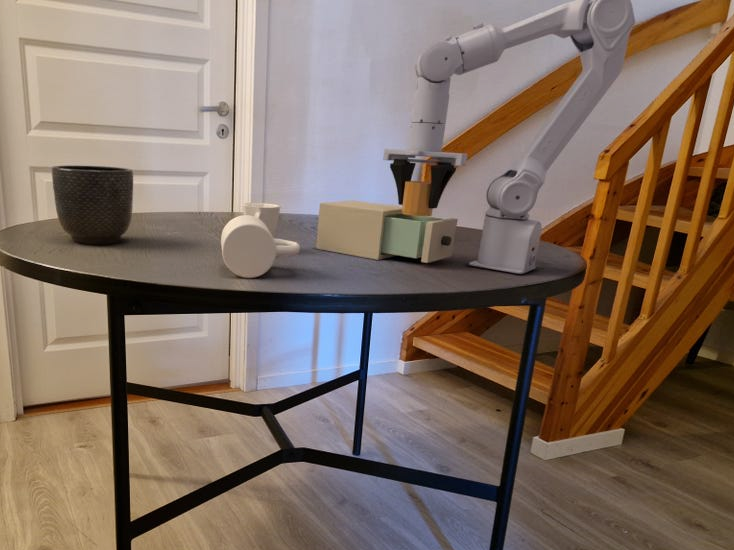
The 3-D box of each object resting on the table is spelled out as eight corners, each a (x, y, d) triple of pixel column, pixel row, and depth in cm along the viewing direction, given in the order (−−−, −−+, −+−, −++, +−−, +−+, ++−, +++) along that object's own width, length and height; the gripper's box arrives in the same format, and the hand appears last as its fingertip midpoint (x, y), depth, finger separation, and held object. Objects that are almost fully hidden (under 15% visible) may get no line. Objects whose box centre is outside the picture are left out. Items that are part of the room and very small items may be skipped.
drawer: (458, 257, 113) (464, 219, 110) (433, 264, 105) (439, 223, 103) (391, 246, 120) (395, 210, 118) (364, 251, 113) (368, 214, 110)
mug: (221, 277, 91) (222, 222, 88) (220, 263, 100) (221, 213, 97) (301, 280, 92) (305, 225, 89) (293, 266, 101) (296, 217, 98)
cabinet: (407, 253, 119) (413, 207, 116) (378, 260, 111) (383, 211, 108) (348, 243, 127) (352, 200, 124) (316, 248, 118) (319, 203, 116)
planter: (143, 237, 120) (142, 168, 115) (121, 250, 107) (118, 172, 102) (74, 233, 121) (70, 164, 116) (43, 244, 107) (37, 167, 103)
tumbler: (436, 215, 109) (441, 183, 107) (423, 217, 105) (427, 183, 103) (409, 211, 112) (413, 180, 110) (396, 213, 108) (400, 181, 106)
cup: (279, 247, 118) (282, 204, 115) (273, 256, 108) (276, 210, 105) (243, 244, 118) (245, 201, 115) (234, 253, 109) (236, 207, 106)
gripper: (378, 121, 105) (370, 202, 109) (459, 123, 96) (446, 212, 101) (398, 123, 110) (389, 201, 115) (476, 126, 102) (463, 209, 106)
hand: (417, 206), depth 108 cm, fingers closed on tumbler, 5 cm apart
